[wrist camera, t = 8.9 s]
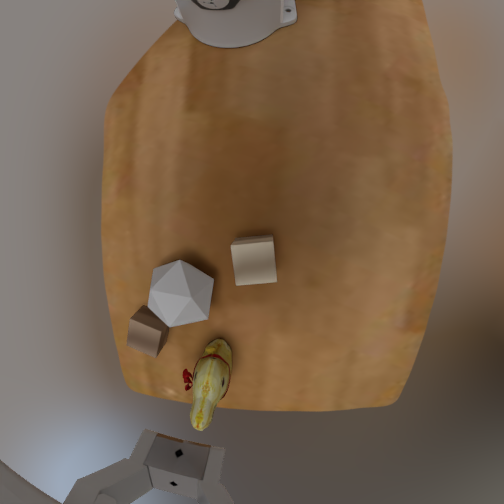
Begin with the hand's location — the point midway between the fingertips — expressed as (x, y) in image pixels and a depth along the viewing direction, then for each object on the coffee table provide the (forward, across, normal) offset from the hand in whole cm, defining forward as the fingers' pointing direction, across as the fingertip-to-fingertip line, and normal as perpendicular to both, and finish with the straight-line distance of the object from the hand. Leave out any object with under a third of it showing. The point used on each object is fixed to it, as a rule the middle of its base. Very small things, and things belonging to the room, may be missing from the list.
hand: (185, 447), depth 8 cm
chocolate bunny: (+31, +3, +18) cm, 36 cm away
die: (+31, +8, +6) cm, 33 cm away
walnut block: (+31, +13, +14) cm, 37 cm away
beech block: (+31, -1, 0) cm, 31 cm away
